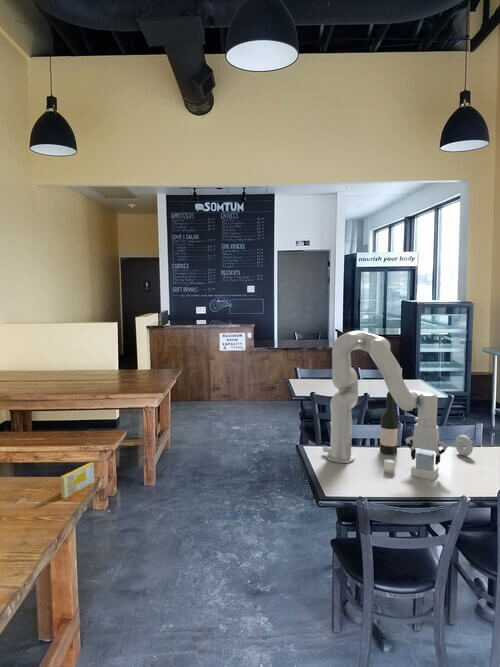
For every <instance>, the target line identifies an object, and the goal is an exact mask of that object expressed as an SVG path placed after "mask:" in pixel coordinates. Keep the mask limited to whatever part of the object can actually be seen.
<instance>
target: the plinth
mask: <svg viewBox="0 0 500 667" xmlns="http://www.w3.org/2000/svg"><path fill="white" fill-rule="evenodd" d="M410 470H411V471H410V475H411V476H413V477H418V478H422V479H425V480H431V481H434V480H435V478H436V477H437V476H438V474H439V466H437V465H434V467H433V468H432V469H431V471H428V470H423V469H419V468H416V463H415V464H414V465H413V466H412V467H411V469H410Z"/></svg>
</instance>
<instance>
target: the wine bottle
mask: <svg viewBox="0 0 500 667" xmlns="http://www.w3.org/2000/svg"><path fill="white" fill-rule="evenodd" d="M394 403H395V400H394V399H393V397H392V396H391V394H390V392H389V390H388V391H387V392H386V408H385V411H384V412H383V414H382V415H381V416H380V431H379V432H380V435H379V437H380V438H379V453H381V454H384V455H386V456H387V455H388V456H389V455H390V456H394V455H397V454H398V435H399V418H398V417H397V415H396V413H395V411H394V405H395V404H394Z"/></svg>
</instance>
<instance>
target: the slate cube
mask: <svg viewBox="0 0 500 667" xmlns="http://www.w3.org/2000/svg"><path fill="white" fill-rule="evenodd" d="M415 464H416V468H419V469H423V470H428V471H431V469H432V468H433V467H434V466H435V453H434V452H431V451H425V450H419V451H417V452H416V458H415Z"/></svg>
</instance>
